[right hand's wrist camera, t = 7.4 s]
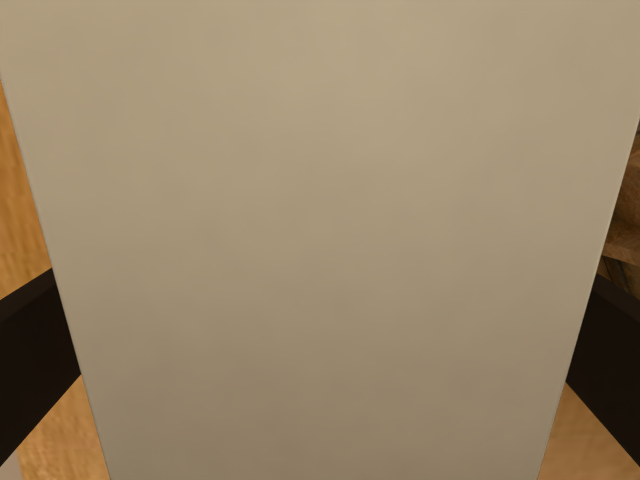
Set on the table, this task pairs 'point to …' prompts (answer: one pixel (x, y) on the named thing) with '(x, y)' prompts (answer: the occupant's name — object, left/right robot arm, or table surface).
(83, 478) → the table surface
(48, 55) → the box
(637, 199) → the miniature house
